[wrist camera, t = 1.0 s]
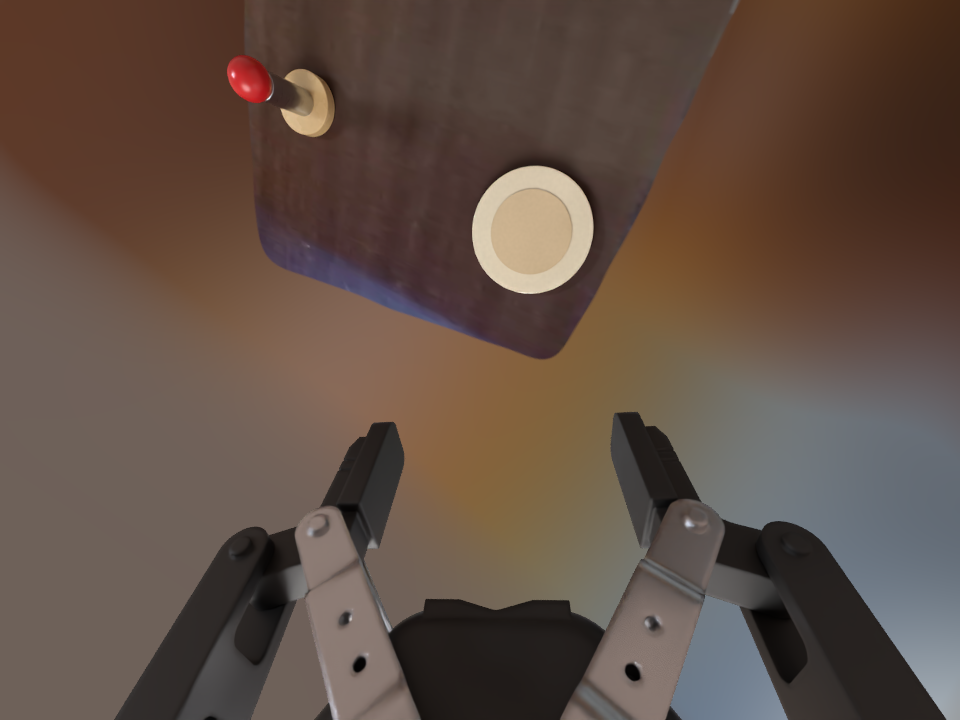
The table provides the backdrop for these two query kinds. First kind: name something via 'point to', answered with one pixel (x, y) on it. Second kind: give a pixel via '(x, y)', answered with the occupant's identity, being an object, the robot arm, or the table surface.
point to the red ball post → (285, 94)
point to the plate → (532, 229)
